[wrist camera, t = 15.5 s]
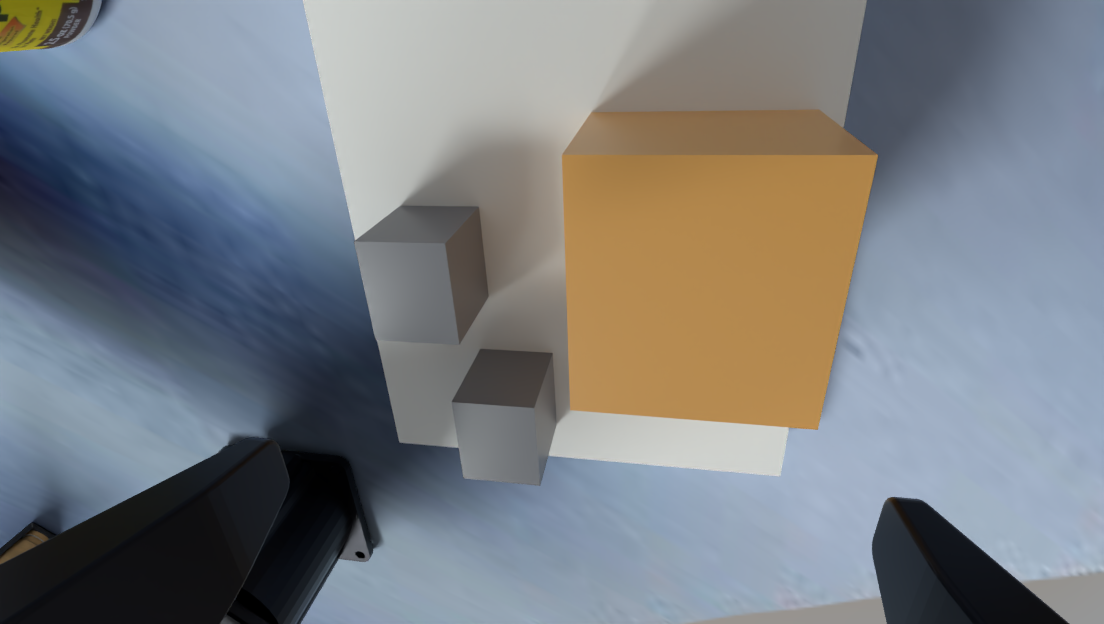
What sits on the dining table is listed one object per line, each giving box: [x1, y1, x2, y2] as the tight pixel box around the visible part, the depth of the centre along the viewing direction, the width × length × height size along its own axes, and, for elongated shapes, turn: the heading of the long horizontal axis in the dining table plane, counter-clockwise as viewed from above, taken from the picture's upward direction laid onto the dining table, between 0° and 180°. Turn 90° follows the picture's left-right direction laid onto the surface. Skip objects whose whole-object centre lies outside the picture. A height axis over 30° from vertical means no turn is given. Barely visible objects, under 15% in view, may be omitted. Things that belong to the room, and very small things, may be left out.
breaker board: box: [303, 0, 867, 486], centre depth 17 cm, size 16×14×5 cm
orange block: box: [562, 110, 878, 430], centre depth 14 cm, size 6×6×5 cm
